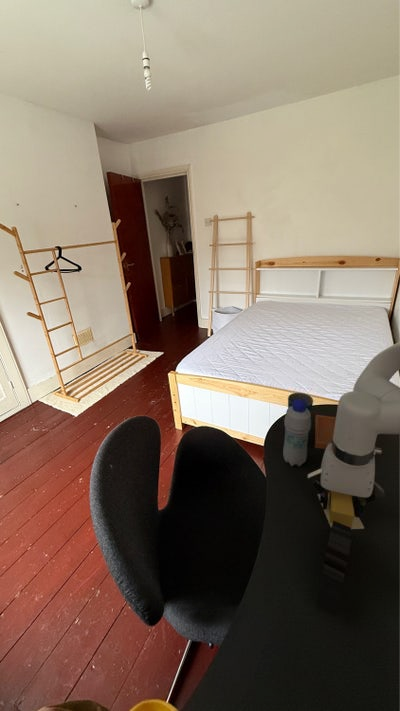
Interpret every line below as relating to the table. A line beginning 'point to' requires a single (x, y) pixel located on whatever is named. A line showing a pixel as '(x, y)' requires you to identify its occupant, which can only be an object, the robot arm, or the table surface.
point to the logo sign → (334, 569)
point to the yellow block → (341, 508)
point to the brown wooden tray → (324, 431)
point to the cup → (303, 397)
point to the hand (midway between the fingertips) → (339, 507)
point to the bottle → (296, 433)
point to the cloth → (356, 521)
